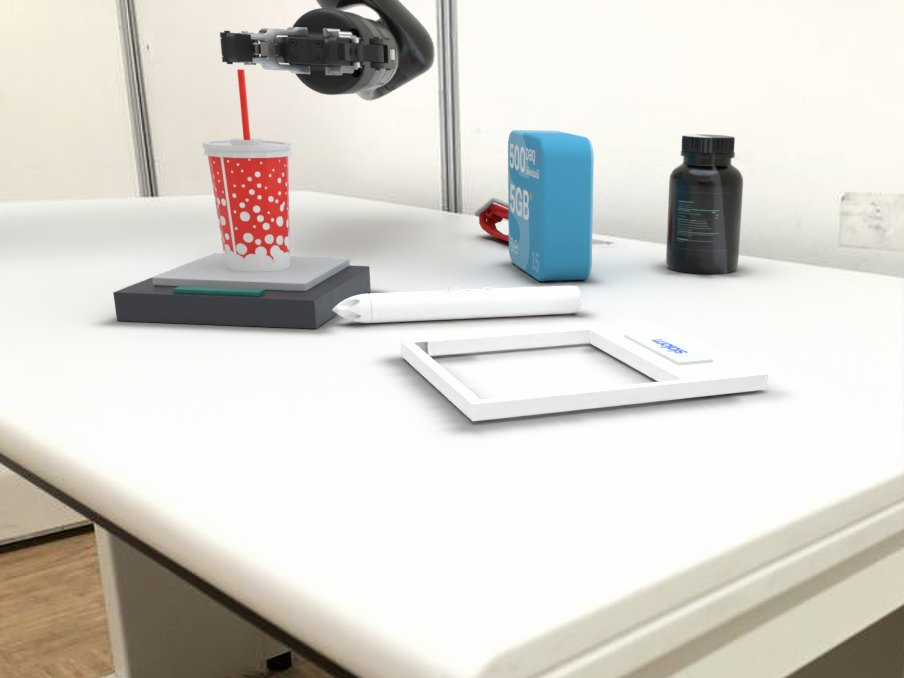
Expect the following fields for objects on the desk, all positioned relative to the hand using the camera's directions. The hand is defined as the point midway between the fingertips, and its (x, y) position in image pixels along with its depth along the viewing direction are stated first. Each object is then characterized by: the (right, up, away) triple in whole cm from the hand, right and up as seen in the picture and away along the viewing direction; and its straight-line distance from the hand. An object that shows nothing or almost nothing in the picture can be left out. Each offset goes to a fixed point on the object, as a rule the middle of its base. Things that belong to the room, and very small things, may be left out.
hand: (282, 49), depth 91 cm
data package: (+21, -17, +9) cm, 29 cm away
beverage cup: (+1, -20, -7) cm, 21 cm away
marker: (+16, -24, -10) cm, 31 cm away
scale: (0, -22, -8) cm, 24 cm away
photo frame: (+26, -29, -24) cm, 46 cm away
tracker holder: (+18, -10, +26) cm, 33 cm away
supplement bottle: (+35, -16, +14) cm, 41 cm away
